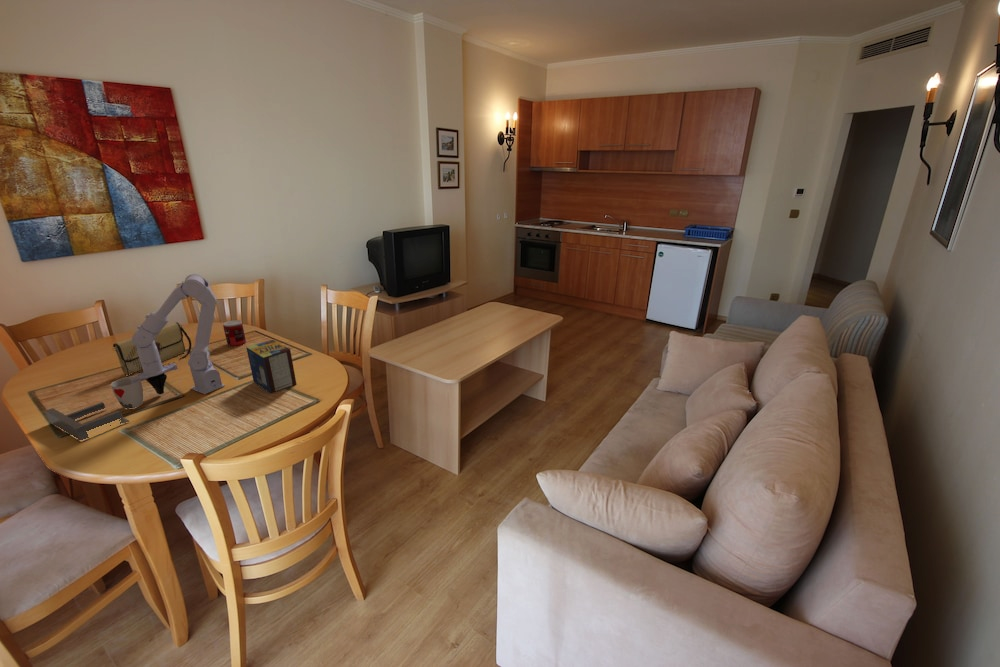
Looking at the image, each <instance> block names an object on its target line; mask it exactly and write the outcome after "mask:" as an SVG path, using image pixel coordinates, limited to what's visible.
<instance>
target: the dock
mask: <svg viewBox="0 0 1000 667" xmlns="http://www.w3.org/2000/svg"><path fill="white" fill-rule="evenodd" d="M104 408H106V406H105V403H104V402H98V403H96V404H93V405H90V406H88V407H84V408H82V409H79V410H77V411H73V412H71V413H68V414H64V413H63V412H60V411H58V410H57V409H55V408H54V407H52V408H50V409H46V410H45V411H44V412H45V415H46V417H47V420H48V421H50V422H51V423H53V424H54V425H56V426H58V427H60V428H61V429H63V430H64V431H66V432H68V433H69V434H71V435H73V436H74V437H76V438H78V439H79V440H83V439H86V438H89V437H88V434H87V432H86V431H89V430H91V429H94V428H96V427H99V426H102V425H104V424H107V423H110V422H112V421H115V420H117V419H120V418H121V419H120V420H121V422H120V424H121V423H126V422H129V421H130V420H128V419H127V418H125V417H123V414H122V412H121V410H117V411H114V412H111V413H109V414H106V415H104V416H101V417H98V418H96V419H93V420H90V421H88V422H86V423H83V424H82V423H80V422H78V421H75V419H77V418H80V417H82V416H84V415H87V414H89V413H92V412H95V411H98V410H101V409H104ZM120 420H119V421H120ZM50 422H49V423H50ZM110 426H111V425H110Z"/></svg>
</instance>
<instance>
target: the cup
mask: <svg viewBox="0 0 1000 667" xmlns="http://www.w3.org/2000/svg"><path fill="white" fill-rule="evenodd" d="M132 377H133V376H128V377H127V376H125V377H122V378H118V379H116V380H115V381H112V382H111V383H110V387H111V389H112V392H113V394H114V396H115V398H116V400H117V401H118V403H119V404H120V406H122V408H123V409H124V408H127V409H129V408H135V407H138V406H140V405H142V403H143V402H144V391H143V384H142V381H141V379H139V380H138V381H137V382H135V383H133V384H132V383H131V382H130V378H132ZM143 404H144V403H143ZM142 406H143V405H142Z"/></svg>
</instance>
